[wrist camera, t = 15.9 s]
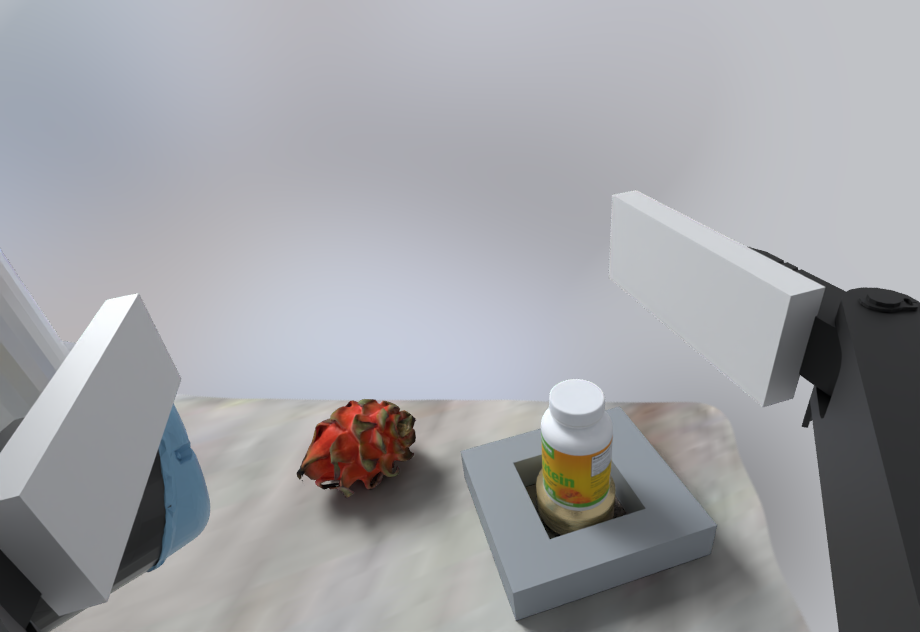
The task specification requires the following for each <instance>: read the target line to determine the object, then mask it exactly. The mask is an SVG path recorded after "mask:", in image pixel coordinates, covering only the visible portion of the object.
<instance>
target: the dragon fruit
mask: <svg viewBox="0 0 920 632" xmlns="http://www.w3.org/2000/svg"><path fill="white" fill-rule="evenodd" d="M399 411H400V408H399V407H398V406H397V405H395V404H393V403H391V402H387V401H382V402H381V404H378V402H377V401H376V400H373V399H362V400H360V401H359V402H356V401H350V402H349V403H348V404H347V405H346V406H344V407H340V408H338V409H337V410H336V411H335V412H333V413H332V415H331V417H330V419H327V420H324V421H322V422H321V423H319V424H317V426H316V428H315V432H314V437H313V440H312V443H311V445H310V446H309V448H308V451H307V453H306V455H305V458H304V459H303V461H302V465H301V466H300V469H299V470H298V472H297V477H298V478H299V479H301V475H302V477H303V474H305V475H306V476H308V477H309V478H310V479H311V480H316V481H315V483H316V485H317V486H318V487H321V488H322V489H327V488H330V489H335V488H336V489H338V490H339V491H341V492H343V493H344V495H345V497H346V498H348V497H349V496H351V495H352V494H354V492H353V491H352V490H350V489H349V487H350V486H351V485H352V484H353V483H354V482H355V481H356V480H357V479H359V480H362V481H363V482H364V484H365V487H366V488H367V489H372V488H375V487H376V485H378V484H379V483H380V482H381V481H382V477H383V475H385V476H388V477H394V476H396V475H398V474H399V467H398V466H397V468H396V472H395V473H393V472H392V468H394V461H395V460H399V461H407V460H410V459H411V458H412V457H413V455H414V453H412V452H411V451H410V450H409V447H410V446H411V445H412V444H413V443H414V442H415V439H416V436H415V430H414V429H413V426H414V422H415V421H416V420H415V418H414V417H413V416H412V415H411V414H410V413H408V412H407V411H405V410H404V411H400V412H399ZM379 472H380V473H379ZM378 473H379V475H378V477H377V479H376V481H375V482H374V483H372V484H371V482H372V478H373V477H374V476H375V475H376V474H378ZM331 480H340V482H339V483H333V484H326V485H322V484H321V483H323V482H325V481H331ZM302 481H303V480H302ZM336 485H339V486H336Z"/></svg>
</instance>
